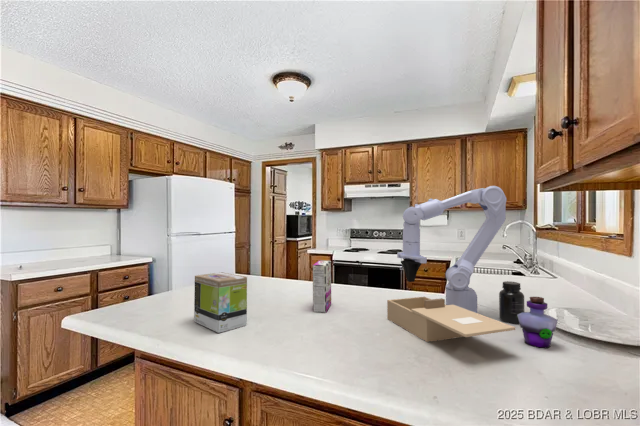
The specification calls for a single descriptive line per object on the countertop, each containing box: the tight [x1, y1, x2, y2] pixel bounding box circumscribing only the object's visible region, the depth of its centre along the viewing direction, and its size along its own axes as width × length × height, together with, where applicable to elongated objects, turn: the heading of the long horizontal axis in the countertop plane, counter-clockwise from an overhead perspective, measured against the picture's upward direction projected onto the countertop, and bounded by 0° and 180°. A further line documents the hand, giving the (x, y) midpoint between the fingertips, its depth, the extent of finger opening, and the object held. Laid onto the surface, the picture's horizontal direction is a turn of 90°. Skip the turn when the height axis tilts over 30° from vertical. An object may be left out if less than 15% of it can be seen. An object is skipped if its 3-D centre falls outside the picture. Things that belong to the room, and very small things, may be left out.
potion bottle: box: [517, 296, 559, 350], centre depth 81 cm, size 9×9×12 cm
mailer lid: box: [411, 298, 516, 338], centre depth 81 cm, size 14×20×3 cm
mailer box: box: [386, 296, 464, 343], centre depth 94 cm, size 14×20×6 cm
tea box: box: [193, 271, 248, 334], centre depth 97 cm, size 15×10×15 cm, turn 47°
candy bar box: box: [311, 260, 332, 314], centre depth 114 cm, size 11×5×16 cm, turn 168°
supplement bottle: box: [498, 280, 525, 325], centre depth 99 cm, size 7×7×12 cm
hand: (410, 281), depth 109 cm, fingers closed
